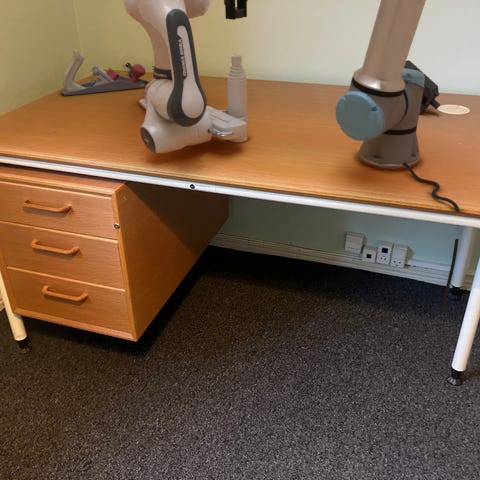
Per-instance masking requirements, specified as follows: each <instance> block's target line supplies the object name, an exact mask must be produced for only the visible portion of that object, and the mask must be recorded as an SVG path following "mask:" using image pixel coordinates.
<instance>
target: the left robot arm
mask: <svg viewBox="0 0 480 480" xmlns="http://www.w3.org/2000/svg"><path fill="white" fill-rule="evenodd" d="M122 3H123V6H124V9H125V11H126V13H127V14H128V15H129V16H130V18H132V19H133V20H135V21H136V22H138V23H139V24H140V25H141V26H142V27H143V29H144V30H145V32H146V33H147V35H148V37H149V40H150V42H151V47H152V52H153V59H154V65H153V66H151V67H152V78H151V80H149V81H147V80H145V79H141V78H138V80H137V81H143V82H144V83H145V87H144V90H143V96H144V98H141V99H139V100H138V103H139V105H140V106H141V107H142V108H143V109H145V116H144V120H143V122H142V124H141V126H140V129H139V133H140V137H141V141H142V142H143V144H144V145H145V147H146V148H147V149H148V150H149V151H150V152H152V153H154V154H165V153H171V152H174V151H178V150H182V149H184V148H185V147H187V146H188V147H189V146H192V147H193V146H196V145H200V144H203V143H207V142H210V141H211V140H212V138H213V136H215V137H216V138H218V139H221V140H229V139H234V138H239V137H243V136H245V135H246V134H247V135H248V123H249V122H250V117H249V116H248V115H247V116H245V115H244V116H241V118H240V119H239V118H235V117H233V116H231V115H228V109H217V108H214V107H212V106H210V105H207V104H208V102H207V101H208V100H207V97H206V93H205V91H204V89H203V86H202V83H201V81H200V75H199V70H198V69H199V68H198V62H197V54H196V48H195V41H194V35H193V30H192V26H191V25H192V24H191V22H190V19H194V18H199V17H202V16H205V14H206V13H207V12H208V10H209V8H210V5H211V0H122ZM126 63H127V64H128V65H127V64H126ZM126 63H125V67H129V69H130V70H129V71H128V74H129V77H130V78H132V76H133V74H132V66H133V65H132V64H131V63H130V62H126Z"/></svg>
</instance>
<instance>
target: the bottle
mask: <svg viewBox="0 0 480 480" xmlns="http://www.w3.org/2000/svg"><path fill="white" fill-rule="evenodd" d="M242 56H243V55H241V54H231V56H230V58H231V65H230V68H229V71H228V74H227V78H226V88H227V89H226V91H227V93H226V94H227V110H228V115H231V116H233V117H235V118H239V119H240V118H241V116H244V115H245V116H248V78H247V74H246V72H245V69H244V68H243V67H244V66H243V65H242ZM247 140H248V133H247V134H246V135H245V136H243V137H239V138H234V139H228V141H230V142H231V143H244V142H247Z"/></svg>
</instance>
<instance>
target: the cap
mask: <svg viewBox="0 0 480 480" xmlns="http://www.w3.org/2000/svg"><path fill="white" fill-rule="evenodd" d="M235 13H236V19H235V20H237V19H244V18H245V17H244V8H242V7H237V6H235Z"/></svg>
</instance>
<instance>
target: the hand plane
mask: <svg viewBox="0 0 480 480" xmlns="http://www.w3.org/2000/svg"><path fill="white" fill-rule="evenodd" d="M85 59H86V58H85V56H84V55H83V54H82V53H81V52H80V51H79V50H77V49H76V48H73V50H72V58H71V62H70V63H69V65H68V67H67V68H66V70H65V72H64V74H63V80H62V84H63V88H62V90H61V93H62V95H63V96H74V95H84V94H94V93H104V92H112V91H113V92H114V91H121V90H132V89H142V88H145V87H146V83H144V82H143V81H137V80H138V79H141V78H142V77H144V76H145V75H146V68H145V66H143V65H141V64H139V63H134V64H133V65H131V66H132V72H131V73H132V75H133V76H132V77H126V76H123V75H120V74H119V73H117V72H116V71H114V70H113V69H112V68H111V67H109V68H108V70H107V71H105V70H104V69H103V68H102V67H100V65H94V66H92V68H91V70H90V72H91V75H93V76H94V77H97V78H95V79H90V81H89V82H86V83H80V84H78V83H77V82H76V81H75V78H76V74H77V72H78V71H79V69H80V68H81V66H82V65H83V63H84V61H85Z"/></svg>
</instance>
